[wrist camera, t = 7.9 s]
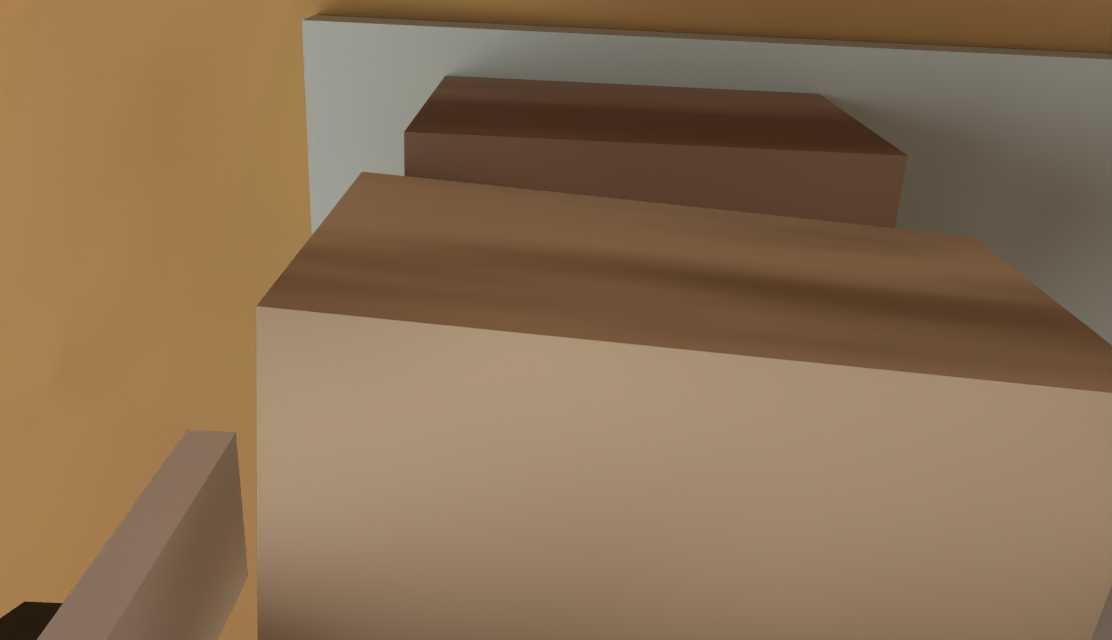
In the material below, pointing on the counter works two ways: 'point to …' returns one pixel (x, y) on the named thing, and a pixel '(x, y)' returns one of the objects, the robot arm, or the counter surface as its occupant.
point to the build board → (781, 66)
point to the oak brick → (669, 428)
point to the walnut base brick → (659, 147)
